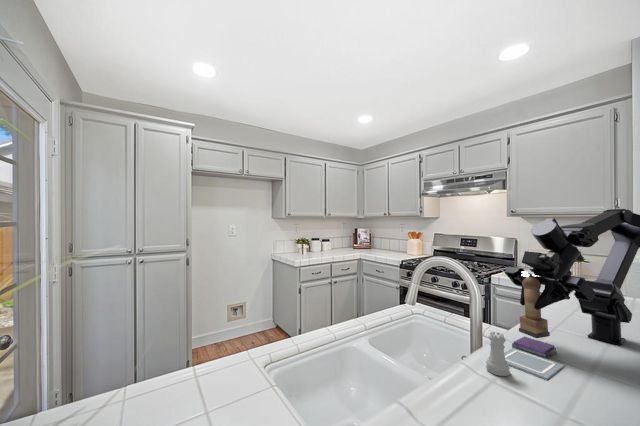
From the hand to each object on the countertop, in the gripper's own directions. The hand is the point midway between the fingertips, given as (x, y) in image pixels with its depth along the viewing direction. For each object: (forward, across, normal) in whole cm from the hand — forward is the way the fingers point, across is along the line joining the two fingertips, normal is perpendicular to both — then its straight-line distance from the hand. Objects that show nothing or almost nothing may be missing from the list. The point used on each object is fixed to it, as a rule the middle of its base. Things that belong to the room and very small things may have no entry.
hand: (528, 306), depth 69 cm
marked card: (+12, +4, +3) cm, 14 cm away
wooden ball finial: (+4, 0, +6) cm, 7 cm away
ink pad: (+7, 0, +9) cm, 11 cm away
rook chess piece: (+20, +6, -4) cm, 21 cm away
